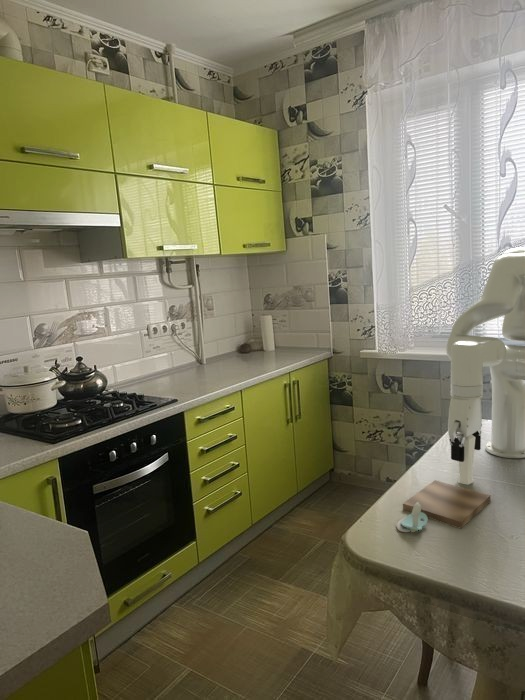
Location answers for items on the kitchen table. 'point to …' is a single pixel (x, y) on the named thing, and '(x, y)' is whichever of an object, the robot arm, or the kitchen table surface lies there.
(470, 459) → the white tall faceted piece
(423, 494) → the walnut board
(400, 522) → the pacifier
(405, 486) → the kitchen table surface
